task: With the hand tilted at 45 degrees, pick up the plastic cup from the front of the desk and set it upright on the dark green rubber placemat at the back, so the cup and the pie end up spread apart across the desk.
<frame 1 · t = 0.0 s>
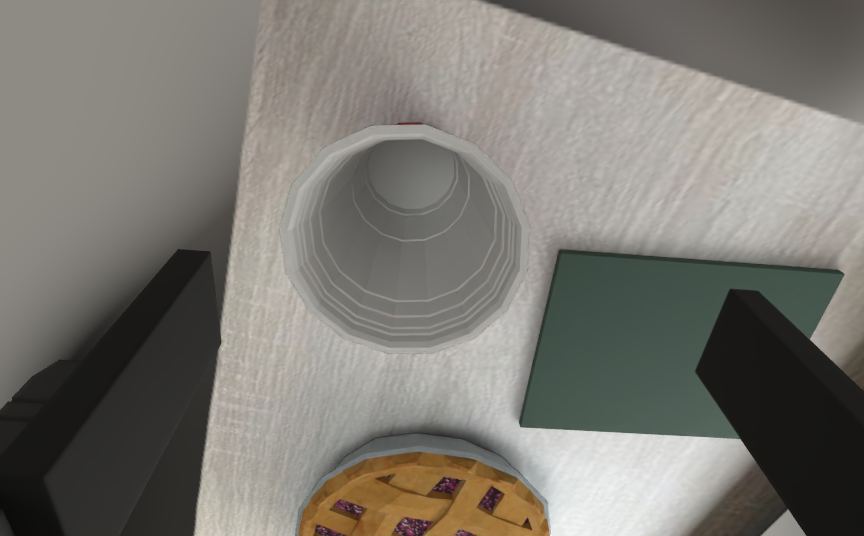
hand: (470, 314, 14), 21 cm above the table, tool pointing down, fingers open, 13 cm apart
placemat: (666, 352, 41), on the table
plastic cup: (409, 164, 33), on the table
pie: (422, 504, 49), on the table
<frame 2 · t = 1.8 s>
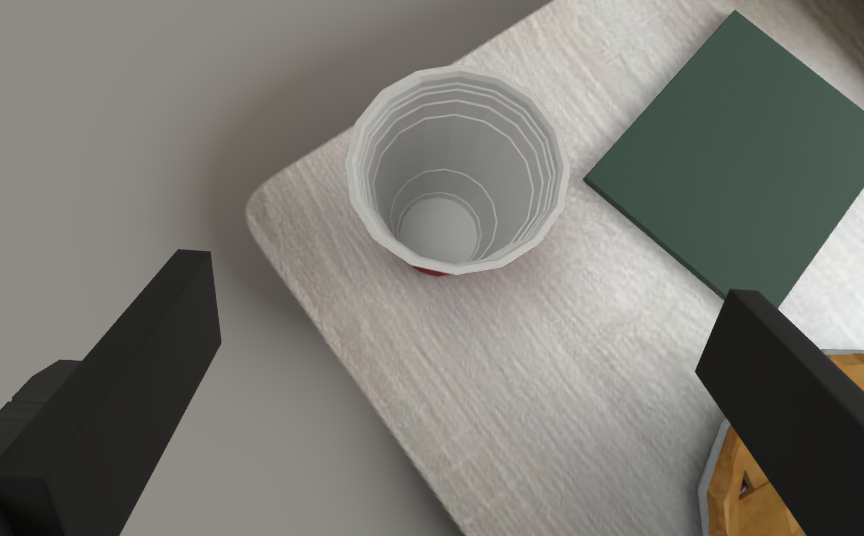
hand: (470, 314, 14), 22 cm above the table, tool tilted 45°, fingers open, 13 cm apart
placemat: (743, 160, 41), on the table
plastic cup: (434, 236, 37), on the table
pie: (834, 522, 35), on the table
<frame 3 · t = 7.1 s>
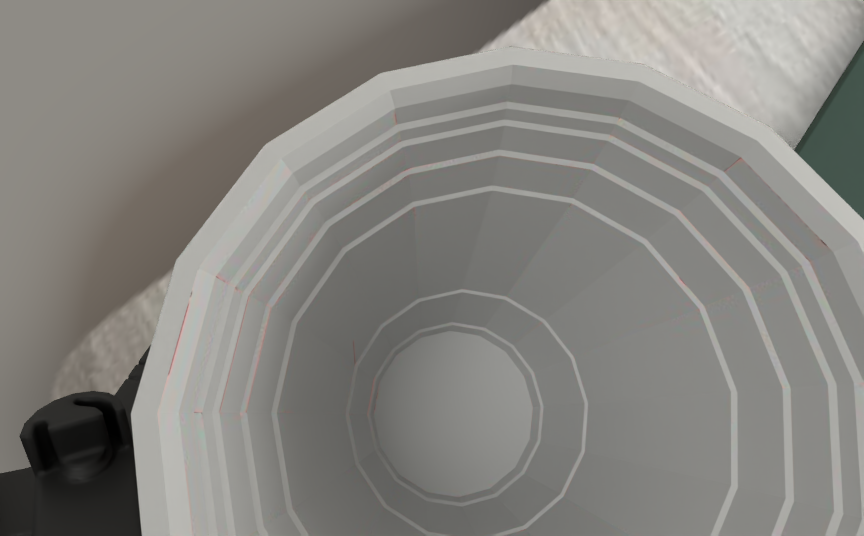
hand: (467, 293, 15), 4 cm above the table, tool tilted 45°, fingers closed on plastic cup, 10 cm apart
plastic cup: (446, 411, 18), on the table, touching gripper
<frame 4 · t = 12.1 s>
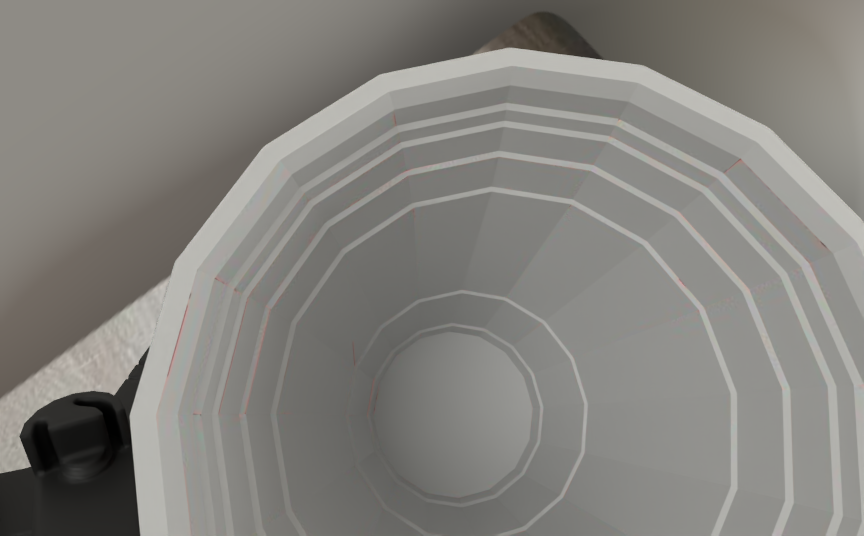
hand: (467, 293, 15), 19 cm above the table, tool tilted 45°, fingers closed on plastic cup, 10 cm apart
plastic cup: (445, 411, 18), point 15 cm above the table, touching gripper
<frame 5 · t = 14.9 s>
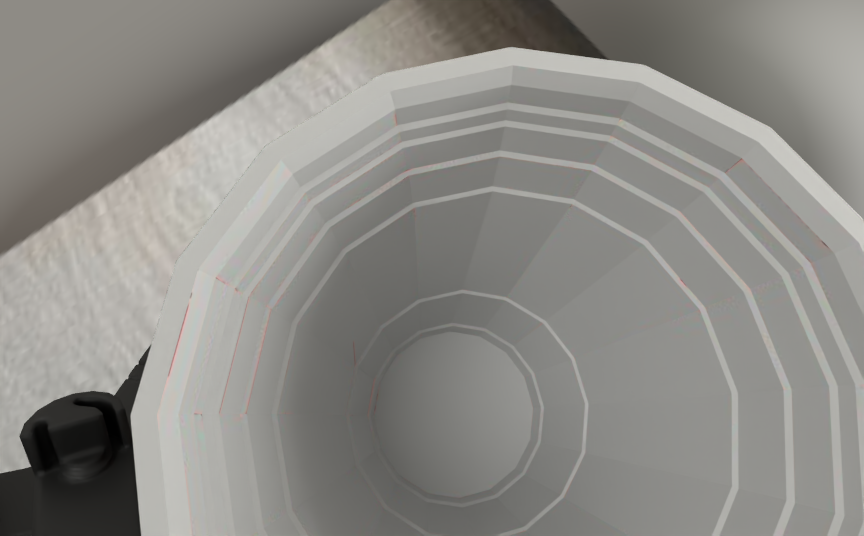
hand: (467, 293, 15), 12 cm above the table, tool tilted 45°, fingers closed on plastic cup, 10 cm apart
plastic cup: (446, 411, 18), point 7 cm above the table, touching gripper
when the fingers open (5 cm above the table, at t = 17.3 s): plastic cup stays where it is, resting on placemat.
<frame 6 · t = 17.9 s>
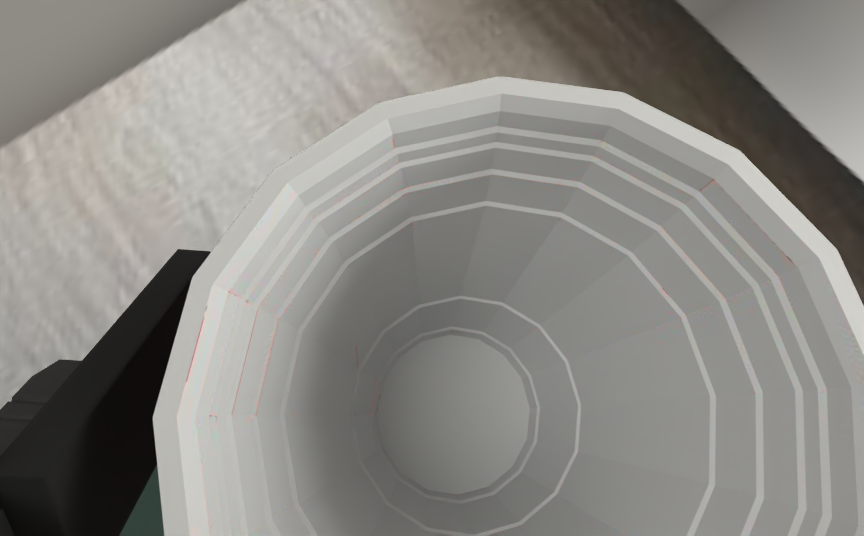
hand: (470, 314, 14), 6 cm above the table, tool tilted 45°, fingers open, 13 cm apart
placemat: (444, 410, 19), on the table
plastic cup: (446, 412, 19), resting on placemat
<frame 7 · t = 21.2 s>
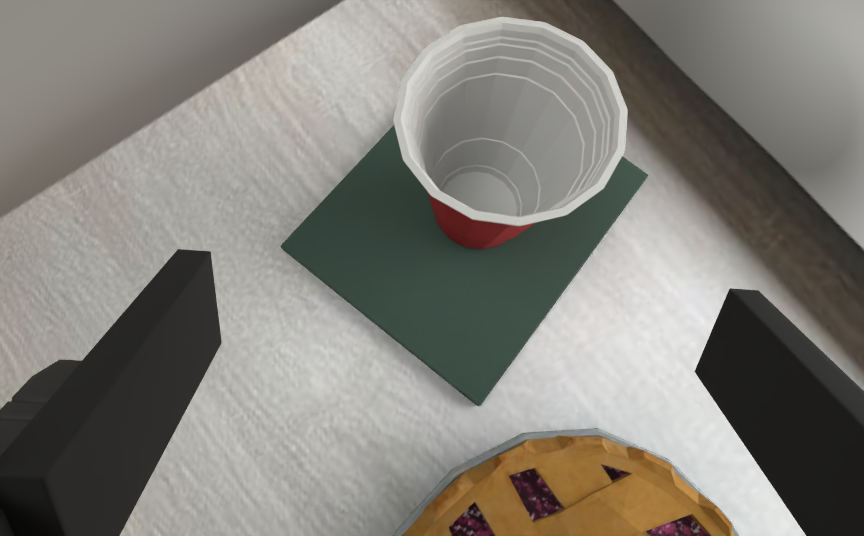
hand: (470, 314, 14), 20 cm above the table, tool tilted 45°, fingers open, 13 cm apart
placemat: (471, 212, 37), on the table
plastic cup: (473, 210, 36), resting on placemat
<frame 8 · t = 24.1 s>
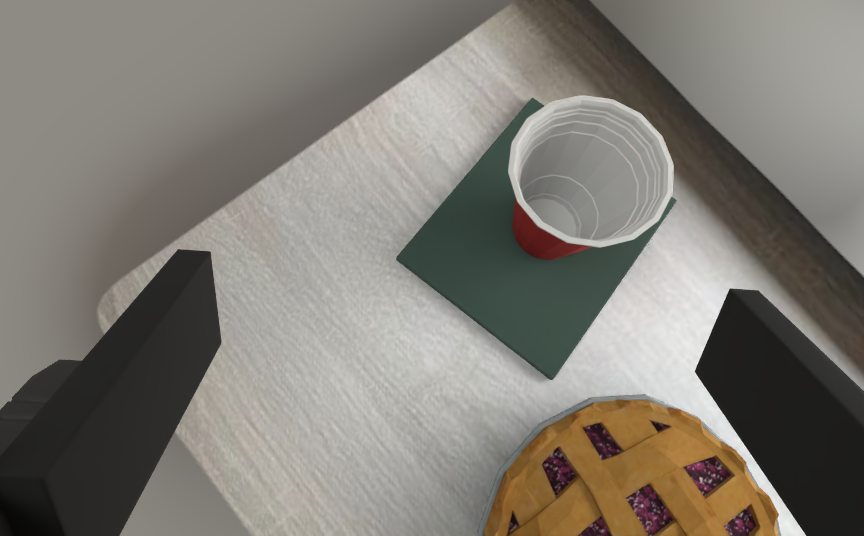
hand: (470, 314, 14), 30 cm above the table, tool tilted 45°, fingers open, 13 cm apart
placemat: (540, 230, 47), on the table
plastic cup: (541, 229, 46), resting on placemat
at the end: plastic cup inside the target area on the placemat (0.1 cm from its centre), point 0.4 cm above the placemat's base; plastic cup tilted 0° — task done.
